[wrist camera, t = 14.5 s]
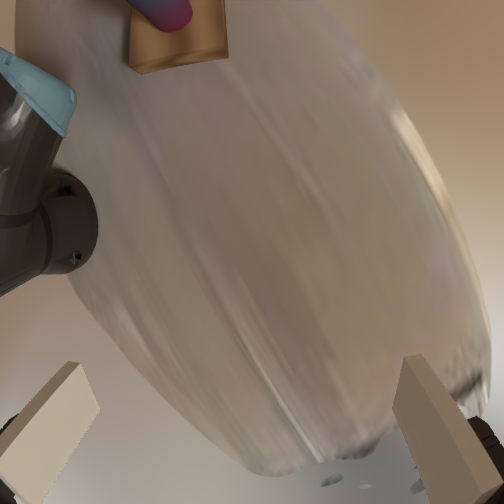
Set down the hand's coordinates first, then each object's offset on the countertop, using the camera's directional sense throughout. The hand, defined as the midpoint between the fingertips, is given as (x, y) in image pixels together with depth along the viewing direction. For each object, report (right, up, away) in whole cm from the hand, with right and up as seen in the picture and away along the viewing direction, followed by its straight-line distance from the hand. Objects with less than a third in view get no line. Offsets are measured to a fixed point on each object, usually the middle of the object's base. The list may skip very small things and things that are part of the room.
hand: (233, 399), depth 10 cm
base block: (-9, +36, +21) cm, 42 cm away
